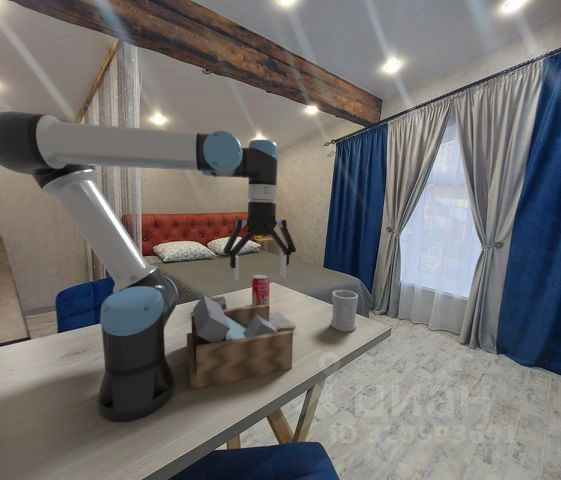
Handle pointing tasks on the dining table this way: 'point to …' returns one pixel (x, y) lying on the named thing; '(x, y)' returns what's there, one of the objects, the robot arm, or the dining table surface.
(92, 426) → the dining table surface
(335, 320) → the cup
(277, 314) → the stone
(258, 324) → the block
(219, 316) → the trapdoor
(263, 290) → the soda can
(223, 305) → the rock
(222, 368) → the brown open boxy piece
